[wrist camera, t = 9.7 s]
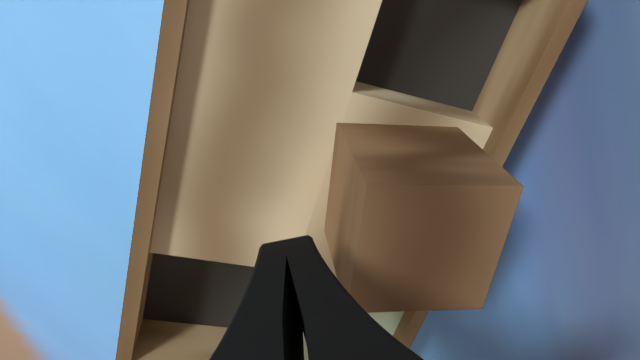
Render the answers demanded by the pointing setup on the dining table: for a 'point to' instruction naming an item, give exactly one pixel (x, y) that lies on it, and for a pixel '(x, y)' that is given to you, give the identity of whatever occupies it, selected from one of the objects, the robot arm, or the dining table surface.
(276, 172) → the board
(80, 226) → the dining table surface
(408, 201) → the walnut block
